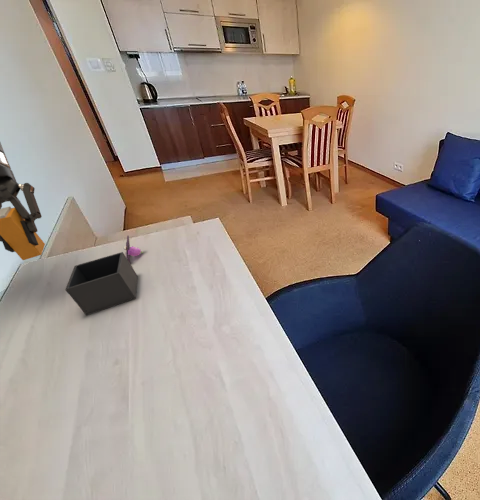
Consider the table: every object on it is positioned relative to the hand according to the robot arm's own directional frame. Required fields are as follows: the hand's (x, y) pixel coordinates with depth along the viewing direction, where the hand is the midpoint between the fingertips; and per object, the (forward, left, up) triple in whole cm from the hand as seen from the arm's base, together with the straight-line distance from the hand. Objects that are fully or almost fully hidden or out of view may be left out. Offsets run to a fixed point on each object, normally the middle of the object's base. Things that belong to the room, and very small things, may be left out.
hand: (22, 246), depth 80 cm
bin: (+13, -6, -19) cm, 24 cm away
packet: (0, +4, -4) cm, 5 cm away
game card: (+18, +14, -19) cm, 30 cm away
